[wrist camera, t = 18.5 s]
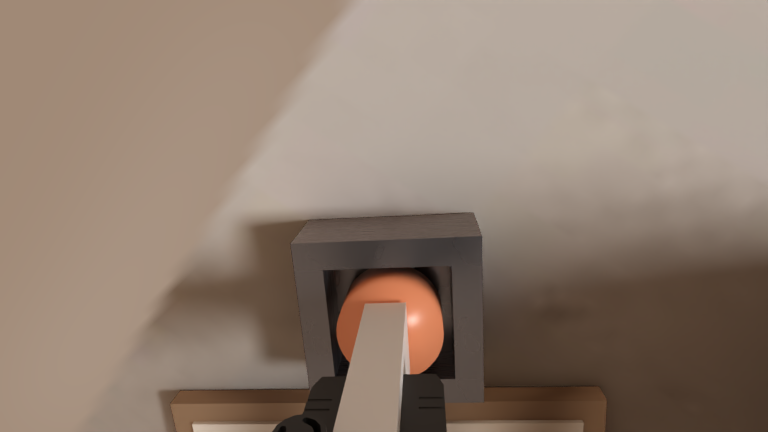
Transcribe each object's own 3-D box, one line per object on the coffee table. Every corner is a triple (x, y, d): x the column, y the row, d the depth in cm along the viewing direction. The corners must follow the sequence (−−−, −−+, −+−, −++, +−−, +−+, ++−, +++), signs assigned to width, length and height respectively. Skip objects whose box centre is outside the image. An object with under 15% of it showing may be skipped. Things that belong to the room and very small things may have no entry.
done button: (440, 262, 19) (441, 283, 17) (443, 350, 20) (445, 379, 18) (340, 265, 19) (331, 286, 17) (349, 352, 20) (341, 381, 18)
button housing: (473, 212, 20) (481, 236, 17) (476, 359, 22) (484, 402, 19) (309, 220, 21) (290, 244, 18) (325, 361, 22) (311, 403, 20)
